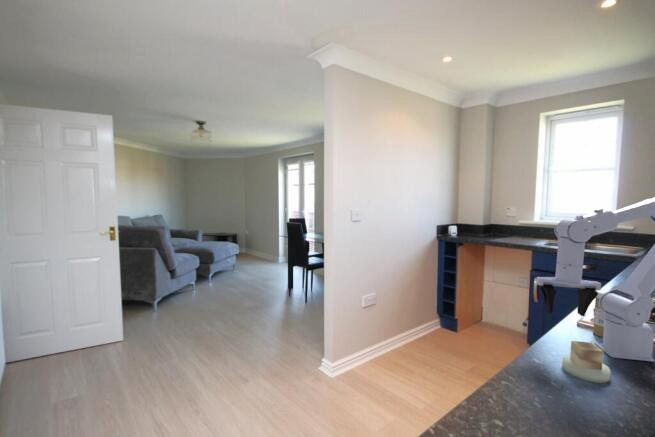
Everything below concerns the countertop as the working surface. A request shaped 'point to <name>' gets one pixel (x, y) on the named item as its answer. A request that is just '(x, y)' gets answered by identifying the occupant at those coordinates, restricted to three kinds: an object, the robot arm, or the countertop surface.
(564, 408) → the countertop surface
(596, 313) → the sprinkles bottle
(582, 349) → the beech cube
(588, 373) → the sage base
